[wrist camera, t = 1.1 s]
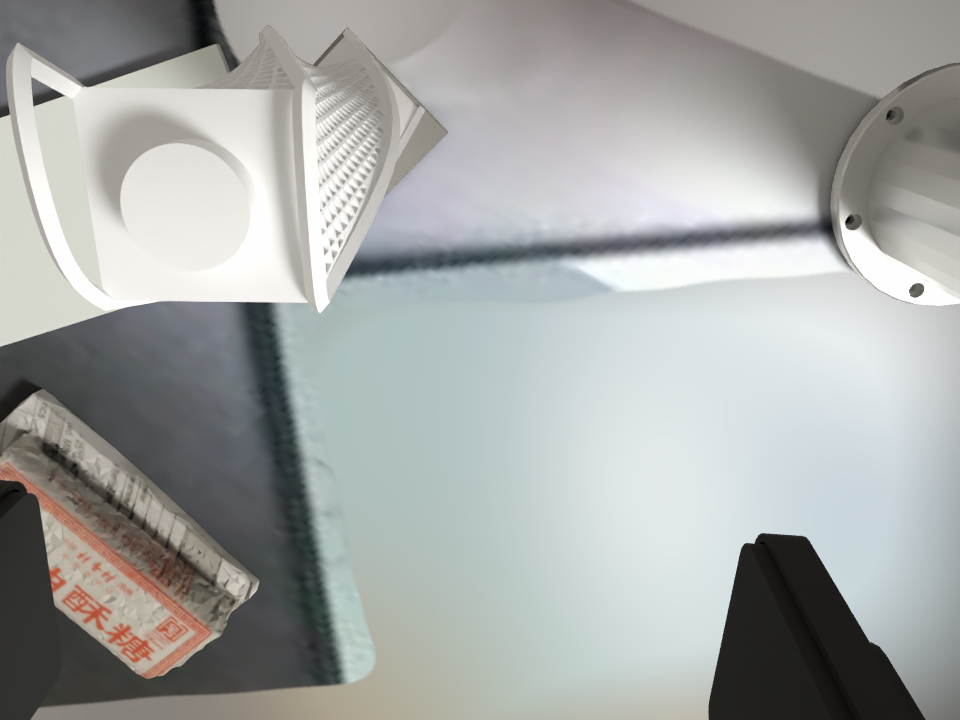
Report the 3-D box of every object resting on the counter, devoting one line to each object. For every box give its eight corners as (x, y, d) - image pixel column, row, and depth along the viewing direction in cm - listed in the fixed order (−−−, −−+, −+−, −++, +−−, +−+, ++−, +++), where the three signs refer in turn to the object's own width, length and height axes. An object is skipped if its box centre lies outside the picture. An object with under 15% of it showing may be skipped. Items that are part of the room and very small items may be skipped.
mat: (219, 43, 42) (215, 43, 41) (301, 250, 45) (299, 253, 45) (-185, 182, 44) (-193, 184, 43) (-74, 367, 48) (-81, 371, 47)
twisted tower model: (234, 108, 43) (-141, 229, 17) (341, -13, 41) (104, -90, 15) (356, 225, 45) (193, 492, 19) (463, 116, 43) (445, 247, 17)
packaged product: (248, 626, 49) (135, 711, 52) (267, 576, 54) (162, 657, 56) (1, 416, 44) (-112, 520, 47) (45, 380, 49) (-60, 477, 51)
